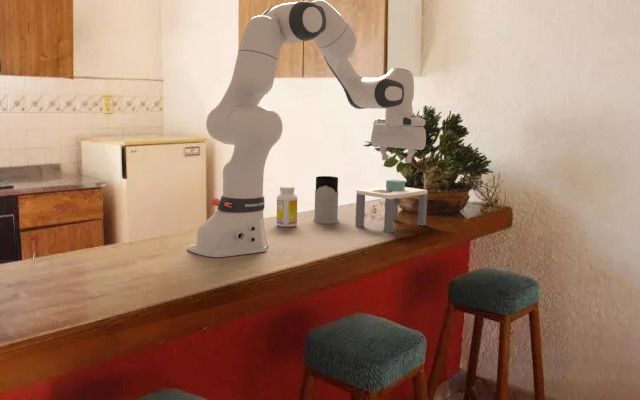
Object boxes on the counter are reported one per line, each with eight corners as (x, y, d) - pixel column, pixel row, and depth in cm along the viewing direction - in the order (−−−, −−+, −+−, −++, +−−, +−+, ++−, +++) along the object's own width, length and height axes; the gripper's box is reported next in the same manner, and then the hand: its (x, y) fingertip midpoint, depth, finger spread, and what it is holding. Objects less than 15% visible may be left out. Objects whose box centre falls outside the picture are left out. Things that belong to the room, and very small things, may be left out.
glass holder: (311, 222, 222) (312, 178, 220) (316, 215, 236) (318, 173, 234) (337, 224, 221) (338, 179, 219) (341, 216, 235) (342, 174, 233)
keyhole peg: (395, 204, 217) (396, 182, 216) (385, 202, 220) (386, 180, 219) (404, 203, 220) (405, 181, 219) (393, 201, 223) (394, 179, 222)
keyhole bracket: (388, 233, 209) (390, 195, 207) (355, 226, 218) (356, 190, 216) (425, 225, 223) (427, 190, 221) (392, 219, 232) (394, 185, 230)
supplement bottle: (298, 224, 219) (299, 185, 217) (295, 228, 213) (296, 188, 211) (278, 223, 220) (278, 184, 218) (274, 227, 213) (275, 187, 211)
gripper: (368, 117, 221) (366, 159, 223) (418, 120, 207) (415, 164, 209) (379, 118, 225) (377, 158, 227) (429, 120, 211) (427, 163, 213)
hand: (396, 161), depth 218 cm, fingers open, 8 cm apart
